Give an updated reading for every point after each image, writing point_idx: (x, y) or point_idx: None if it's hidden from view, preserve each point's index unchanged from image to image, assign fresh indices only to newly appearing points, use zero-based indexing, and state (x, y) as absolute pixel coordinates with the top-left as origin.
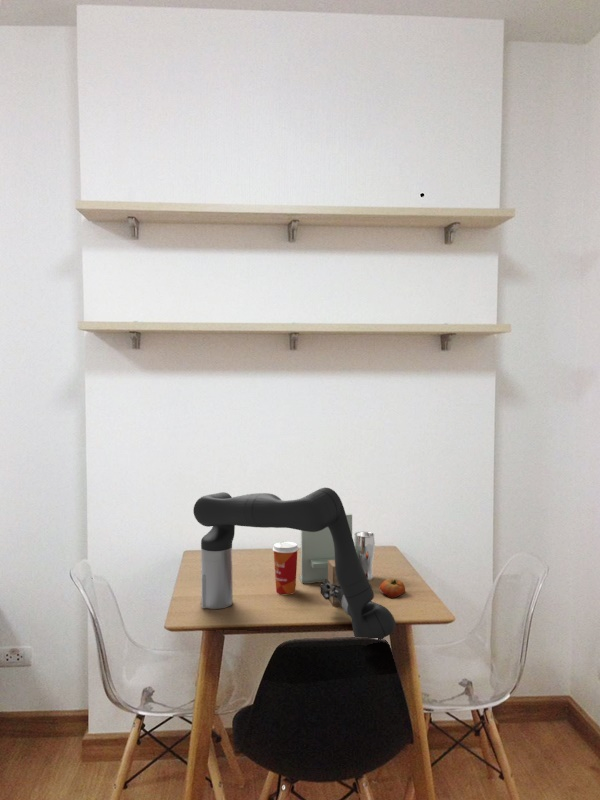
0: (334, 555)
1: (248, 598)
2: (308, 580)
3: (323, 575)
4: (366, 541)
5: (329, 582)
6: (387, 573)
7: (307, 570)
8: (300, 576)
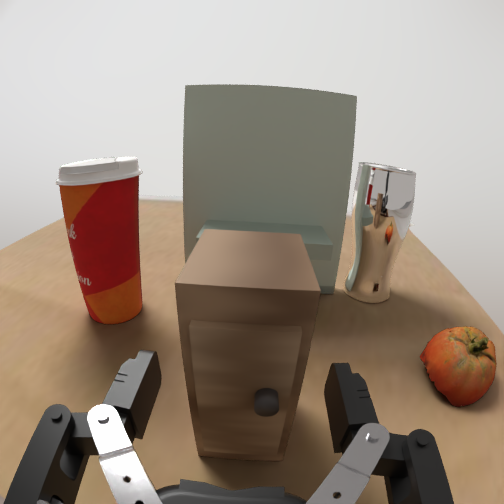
0: (288, 217)
1: (16, 310)
2: None
3: None
4: (396, 186)
5: (131, 399)
6: (417, 281)
7: None
8: None
